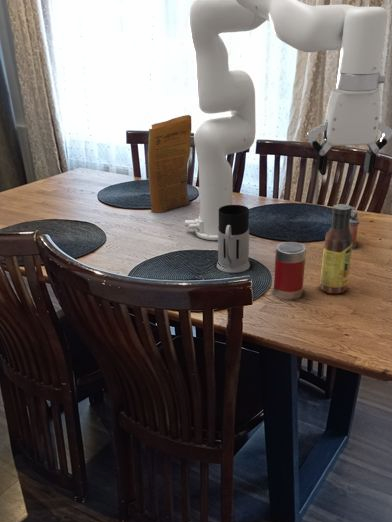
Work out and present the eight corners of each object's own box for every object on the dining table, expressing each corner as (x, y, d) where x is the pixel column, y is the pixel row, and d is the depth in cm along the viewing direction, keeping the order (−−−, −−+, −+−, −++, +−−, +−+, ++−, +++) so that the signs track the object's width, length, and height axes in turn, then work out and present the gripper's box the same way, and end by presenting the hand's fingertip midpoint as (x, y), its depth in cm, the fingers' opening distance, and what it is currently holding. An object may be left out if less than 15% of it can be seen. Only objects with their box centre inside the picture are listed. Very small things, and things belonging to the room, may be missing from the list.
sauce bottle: (346, 296, 123) (358, 212, 112) (319, 294, 124) (328, 211, 113) (345, 283, 128) (357, 202, 117) (319, 281, 129) (328, 201, 118)
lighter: (337, 237, 152) (341, 203, 147) (348, 237, 152) (353, 202, 147) (346, 248, 145) (350, 213, 140) (358, 248, 146) (363, 212, 140)
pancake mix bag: (200, 202, 182) (198, 114, 166) (156, 216, 172) (149, 124, 156) (187, 198, 186) (184, 112, 170) (143, 211, 176) (136, 121, 160)
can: (276, 300, 122) (278, 253, 116) (271, 287, 128) (273, 241, 121) (304, 299, 122) (309, 251, 116) (299, 286, 128) (302, 240, 122)
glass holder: (252, 259, 141) (253, 204, 133) (244, 283, 130) (245, 224, 122) (220, 257, 143) (219, 203, 135) (209, 281, 132) (208, 223, 123)
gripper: (394, 78, 105) (379, 166, 115) (308, 81, 105) (300, 168, 115) (408, 84, 99) (391, 176, 109) (316, 87, 99) (307, 179, 109)
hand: (344, 172), depth 112 cm, fingers open, 9 cm apart
